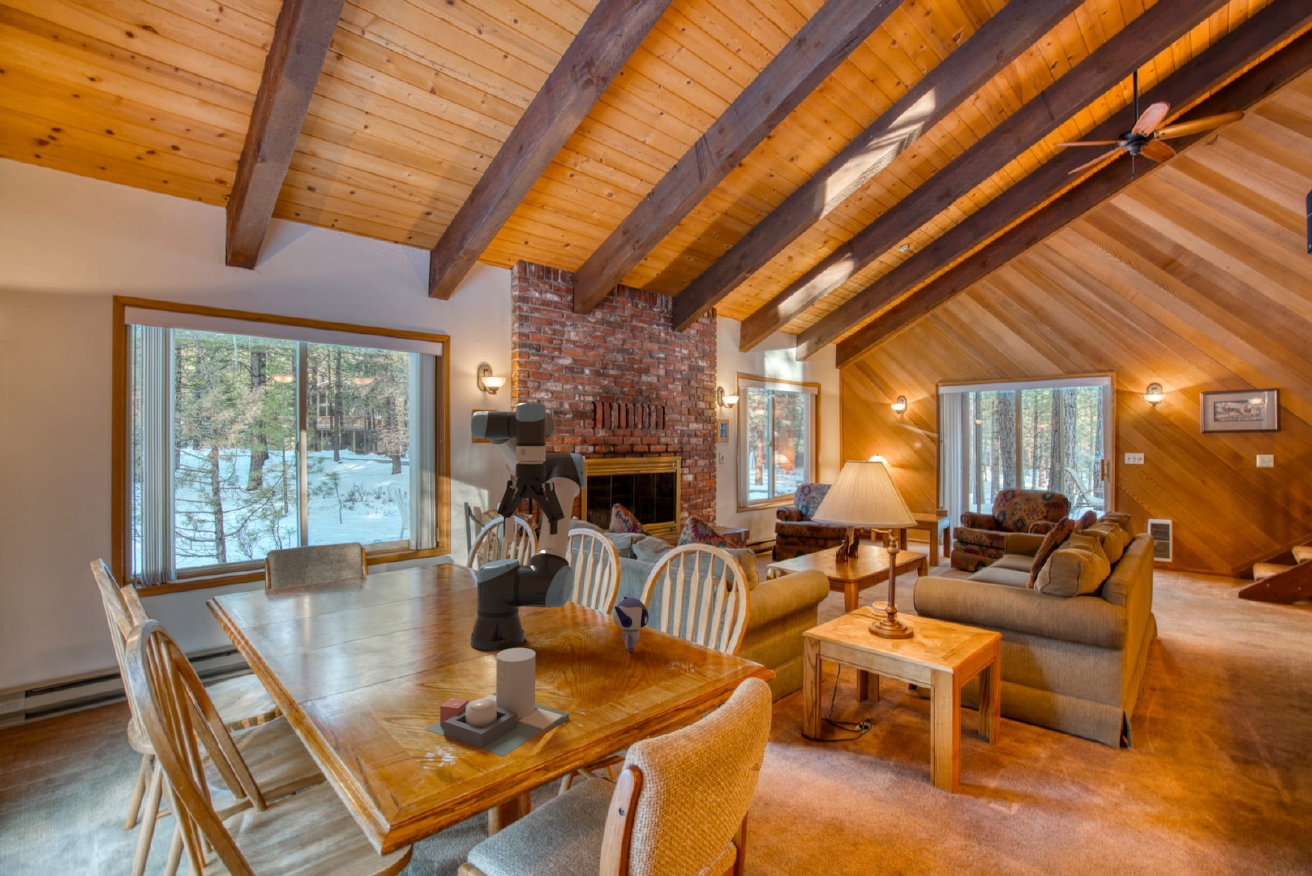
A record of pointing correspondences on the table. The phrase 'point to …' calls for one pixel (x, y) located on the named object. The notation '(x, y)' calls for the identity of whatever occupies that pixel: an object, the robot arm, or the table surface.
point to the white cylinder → (516, 681)
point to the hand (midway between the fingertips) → (529, 544)
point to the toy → (630, 620)
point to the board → (500, 728)
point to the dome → (481, 712)
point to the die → (451, 709)
